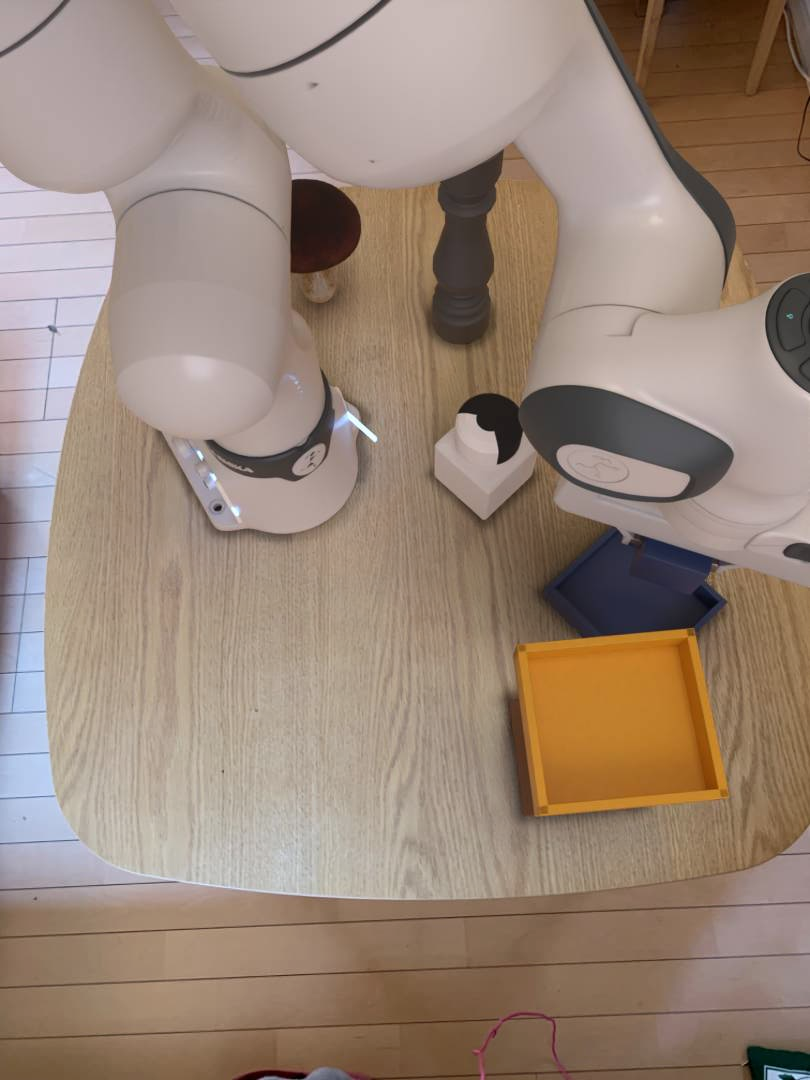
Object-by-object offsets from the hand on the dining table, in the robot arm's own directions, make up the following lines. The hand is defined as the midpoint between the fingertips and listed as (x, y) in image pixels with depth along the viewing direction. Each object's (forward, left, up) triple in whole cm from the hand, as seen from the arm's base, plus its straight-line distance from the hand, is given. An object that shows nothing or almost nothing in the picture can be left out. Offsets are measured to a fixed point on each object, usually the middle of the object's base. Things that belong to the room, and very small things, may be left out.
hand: (672, 550), depth 66 cm
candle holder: (-34, +10, -15) cm, 39 cm away
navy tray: (0, 0, -15) cm, 15 cm away
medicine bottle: (-19, -1, -15) cm, 25 cm away
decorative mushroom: (-47, +1, -15) cm, 50 cm away
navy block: (0, 0, -2) cm, 2 cm away
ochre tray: (+6, -14, -15) cm, 22 cm away
